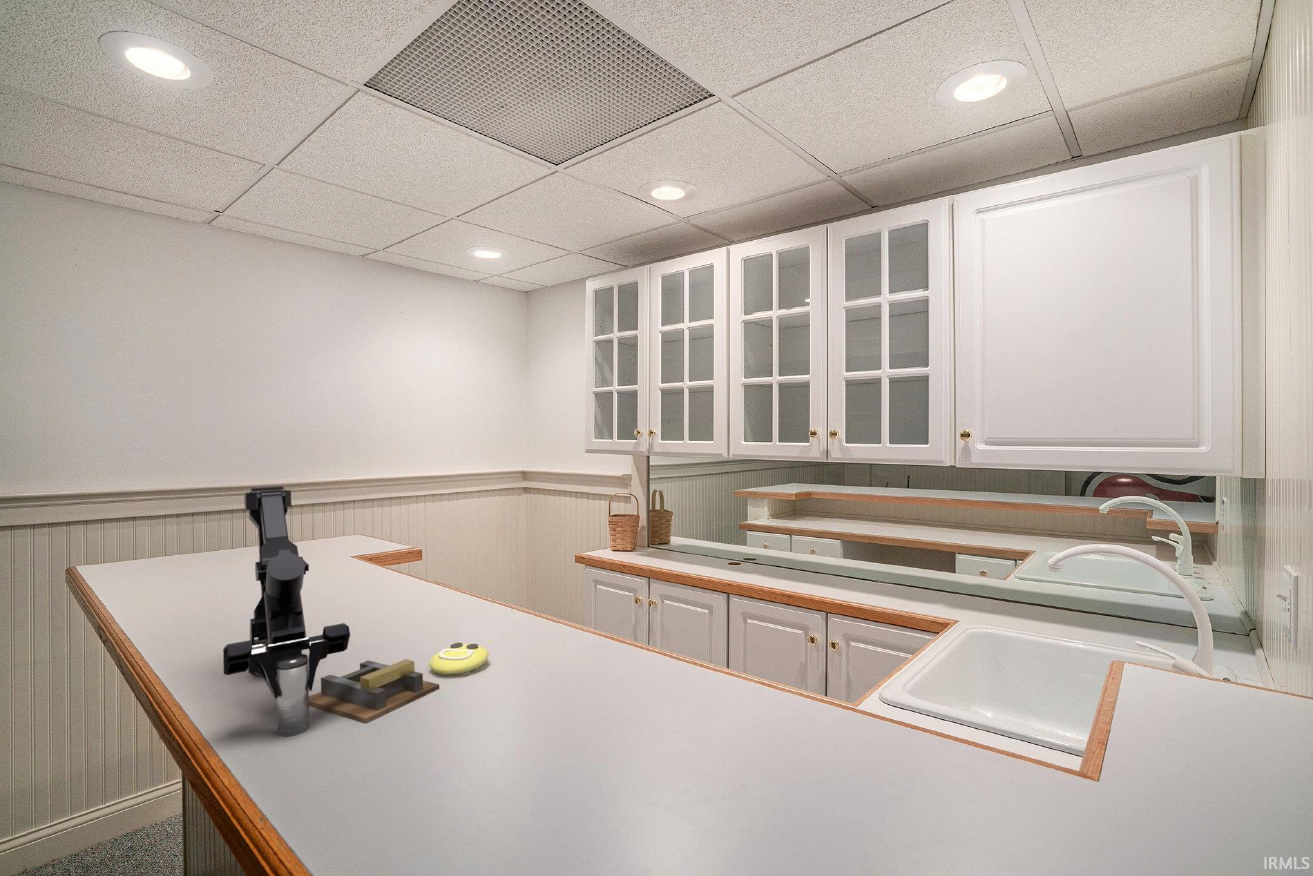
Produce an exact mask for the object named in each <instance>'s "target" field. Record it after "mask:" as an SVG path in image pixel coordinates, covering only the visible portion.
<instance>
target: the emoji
mask: <svg viewBox="0 0 1313 876" xmlns="http://www.w3.org/2000/svg"><path fill="white" fill-rule="evenodd" d="M489 655H490V654H489V652H488V650H487V649H486V648H485V647H483V646H481V645H479V644H478V643H469V644H464V643H462V642H454V643H452V644H451V645H450V647H447V648H443V649H442V650H440V651H439V652H437V653H436V654H434V655H433V656H432V657H431V659H430V661H429V663H428V666H429V668H430V669H431V670H432V671H433V672H434V673H436V674H443V675H467V674H468V673H470V672H471V671H473V670H475V669H477V668H479V667H480V666H483V664H485V663H486V661H487V660H488V658H489Z"/></svg>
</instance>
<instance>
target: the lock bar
mask: <svg viewBox="0 0 1313 876" xmlns="http://www.w3.org/2000/svg"><path fill="white" fill-rule="evenodd" d="M412 672H416V671H415V661H414V660H411V659H406V658H405V659H403V660H401V661H398V662H396V663H393V664H390V665H389V666H387V667H385V668H382V669H380V670H377V671H375V672H372V673H370V674H367V675H365V676H362V677H360V687H361V689H365V690H368V691H370V690H372V689H375V688H377V687H379V686H382V685H384V684H386V683H389V682H391V681H393V680H396V679H398V678H401V677H403V676H405V675H408V674H410V673H412Z"/></svg>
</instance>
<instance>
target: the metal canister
mask: <svg viewBox="0 0 1313 876" xmlns="http://www.w3.org/2000/svg"><path fill="white" fill-rule="evenodd" d="M308 658H309V655H308V654H305V653H302V654H293V655H288V656H285V657H282V658H279V659H278V660H276V676H275V677H276V681H277V687H278V698H276V705H277V707H276V708H277V710H276V711H277V734H278V736H280V737H293V736H297V735H301V734H302V733H305V732H306V731H308V730H309V729H310V728H311V727H310V726H311V723H310V721H311V720H310V705H309V696H310V693H309V686H308Z"/></svg>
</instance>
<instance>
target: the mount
mask: <svg viewBox="0 0 1313 876" xmlns="http://www.w3.org/2000/svg"><path fill="white" fill-rule="evenodd" d="M387 666H390V665H389V664H385V663H380V662H377V661H372V660H368V659H367V660H365V661H363V662H360V663H359V669H357V670H354V671H353V672H350V673H347V674H344V675H341V676H337V675H332V674H327V675H326V676H322V677H320V691H319V692H316V693H314V694H311V695H309V707H314V708H315V709H316V708H318V709H320V710H323V711H326V712H328V713H333V714H336V715H338V716H339V715H340V716H342V717H345V718H348V719H352V720H355V721H357V722H361V723H364V724H367V723H369V722H372V721H374V720H376V719H378V718H380V717H382V716H384V715H386V714H388V713H390V712H394V711H395V710H397V709H399V708H401V707H403V706H405V705H408V704H409V703H412V702H414V701H415V700H418V699H420V698H422V697H425V696H426V695H429V694H431V693H433V692H435V691H437V690H439V689H440V683H435V682H431V681H428V680H424V674H423V673H422V672H419V671H415V672H412V673H410V674H408V675H405V676H403V677H401V678H398V679H396V680H393V681H391V682H389V683H386V684H384V685H382V686H379V687H377V688H375V689H372V690H370V691H368V690H365V689H361V687H360V677H362V676H365V675H367V674H370V673H372V672H375V671H377V670H380V669H382V668H385V667H387Z"/></svg>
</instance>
